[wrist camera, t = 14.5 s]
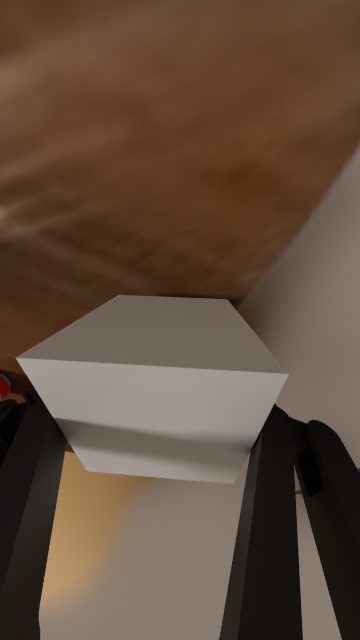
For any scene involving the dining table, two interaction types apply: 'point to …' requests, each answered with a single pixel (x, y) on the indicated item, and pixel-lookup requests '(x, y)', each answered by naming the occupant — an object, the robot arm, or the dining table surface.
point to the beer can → (4, 386)
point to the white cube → (158, 387)
